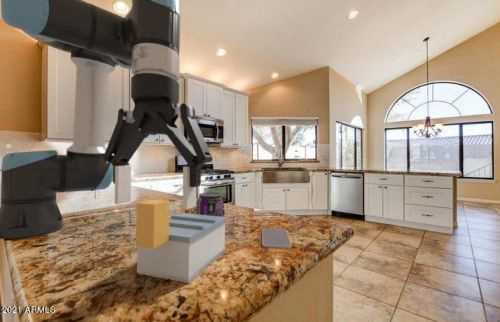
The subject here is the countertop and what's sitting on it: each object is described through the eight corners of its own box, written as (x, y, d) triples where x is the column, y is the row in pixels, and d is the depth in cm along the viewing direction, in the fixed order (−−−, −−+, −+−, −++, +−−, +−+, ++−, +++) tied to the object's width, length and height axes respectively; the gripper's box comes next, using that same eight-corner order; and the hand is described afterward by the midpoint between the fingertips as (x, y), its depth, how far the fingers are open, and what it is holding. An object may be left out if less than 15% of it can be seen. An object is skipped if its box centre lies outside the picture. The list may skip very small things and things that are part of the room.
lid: (116, 251, 39) (117, 201, 39) (183, 223, 58) (184, 189, 58) (174, 261, 36) (175, 206, 36) (226, 227, 54) (227, 191, 54)
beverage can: (217, 242, 60) (218, 196, 60) (191, 240, 61) (192, 195, 61) (225, 234, 67) (226, 192, 67) (202, 232, 68) (203, 191, 68)
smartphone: (286, 228, 72) (292, 245, 57) (286, 231, 72) (292, 249, 57) (262, 228, 72) (262, 244, 57) (262, 231, 72) (262, 248, 57)
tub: (137, 273, 43) (137, 235, 43) (183, 245, 57) (184, 217, 57) (188, 283, 40) (189, 242, 40) (224, 251, 54) (225, 221, 54)
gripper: (80, 79, 39) (78, 204, 39) (212, 60, 32) (210, 215, 32) (117, 92, 47) (116, 198, 46) (232, 79, 39) (231, 205, 39)
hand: (154, 205), depth 39 cm, fingers open, 13 cm apart
